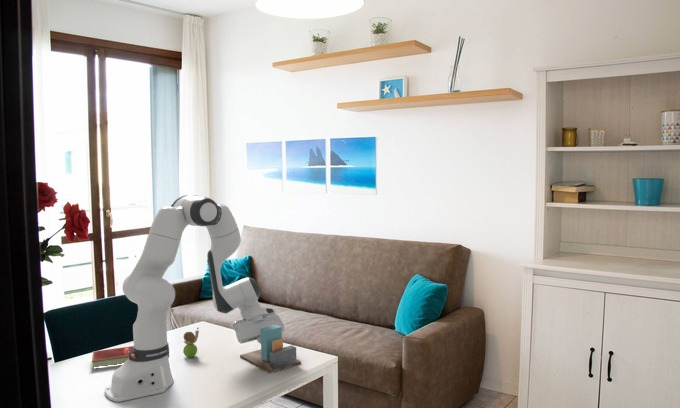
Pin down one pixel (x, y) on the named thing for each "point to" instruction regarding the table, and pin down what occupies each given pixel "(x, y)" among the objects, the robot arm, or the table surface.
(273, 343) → the orange flat block
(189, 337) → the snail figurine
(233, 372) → the table surface
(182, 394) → the table surface
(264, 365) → the brown wooden base board
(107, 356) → the hardcover book
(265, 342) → the teal upright block
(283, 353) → the grey lying block
